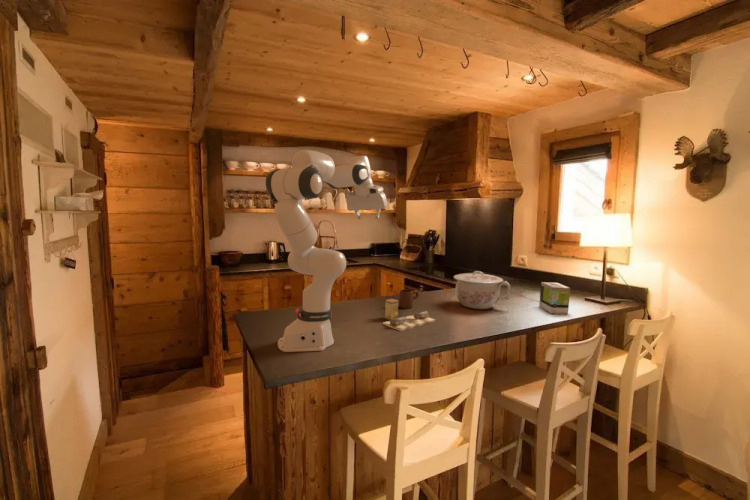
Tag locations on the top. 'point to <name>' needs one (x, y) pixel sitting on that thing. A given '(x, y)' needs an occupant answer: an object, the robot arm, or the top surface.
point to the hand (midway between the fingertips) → (368, 218)
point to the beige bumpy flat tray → (409, 321)
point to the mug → (407, 298)
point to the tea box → (554, 297)
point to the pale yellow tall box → (391, 309)
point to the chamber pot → (479, 290)
